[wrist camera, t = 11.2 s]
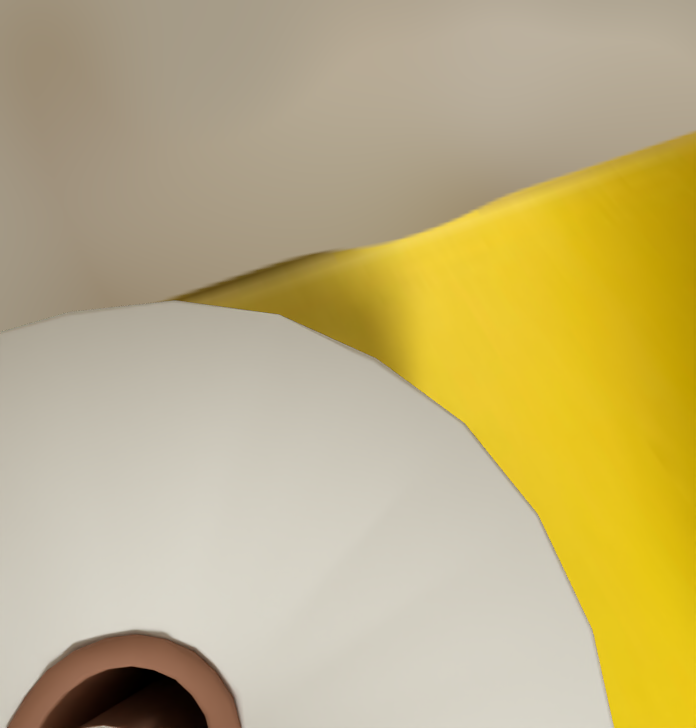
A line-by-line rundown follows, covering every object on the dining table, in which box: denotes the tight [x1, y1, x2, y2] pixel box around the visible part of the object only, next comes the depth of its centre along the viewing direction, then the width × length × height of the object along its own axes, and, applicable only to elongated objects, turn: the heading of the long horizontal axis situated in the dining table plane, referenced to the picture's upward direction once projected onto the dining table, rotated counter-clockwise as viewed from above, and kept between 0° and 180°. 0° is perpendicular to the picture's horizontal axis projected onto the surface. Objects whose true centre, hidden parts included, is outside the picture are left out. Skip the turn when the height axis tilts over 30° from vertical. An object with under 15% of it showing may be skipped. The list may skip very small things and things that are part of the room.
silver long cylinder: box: [0, 300, 614, 728], centre depth 15 cm, size 6×6×25 cm
